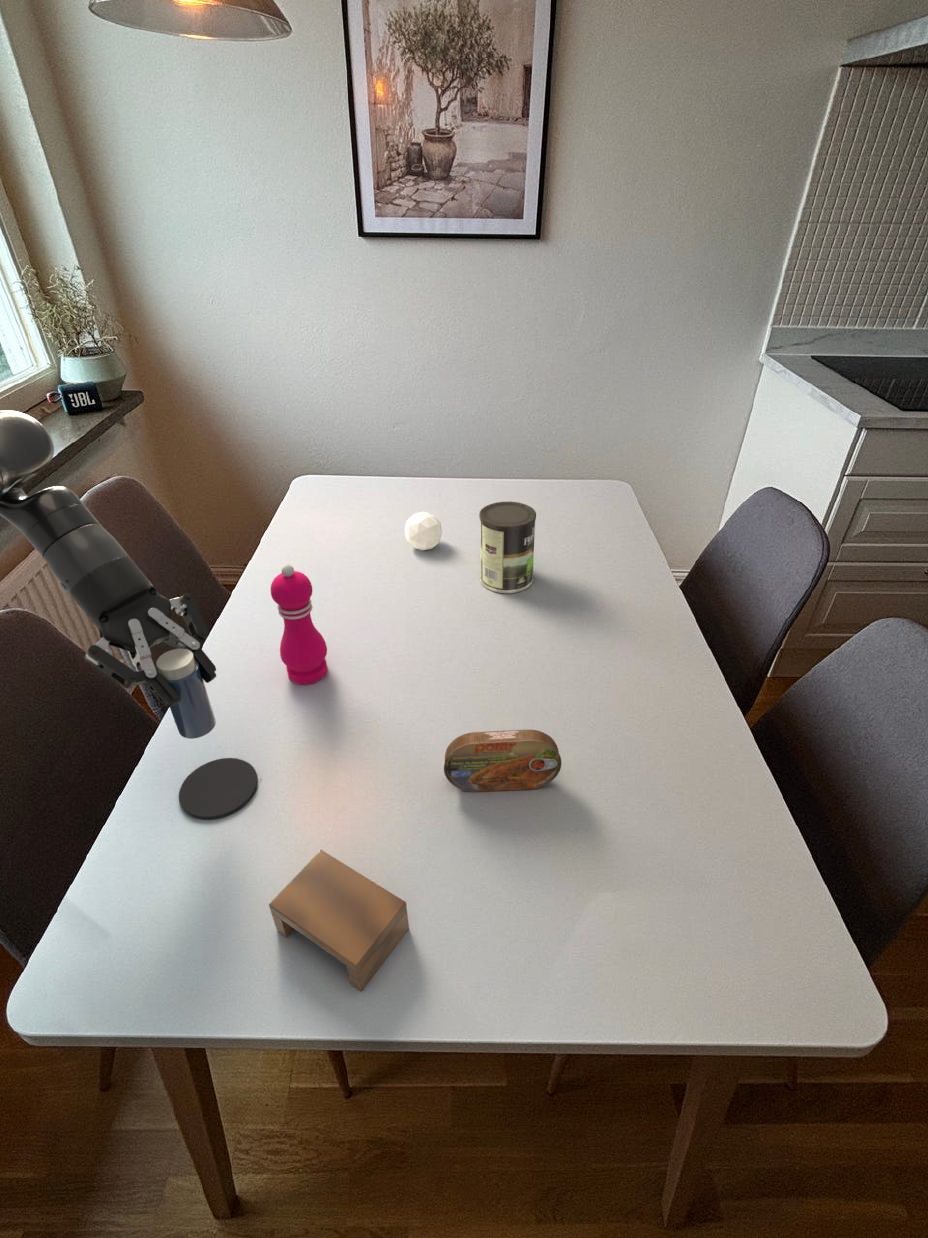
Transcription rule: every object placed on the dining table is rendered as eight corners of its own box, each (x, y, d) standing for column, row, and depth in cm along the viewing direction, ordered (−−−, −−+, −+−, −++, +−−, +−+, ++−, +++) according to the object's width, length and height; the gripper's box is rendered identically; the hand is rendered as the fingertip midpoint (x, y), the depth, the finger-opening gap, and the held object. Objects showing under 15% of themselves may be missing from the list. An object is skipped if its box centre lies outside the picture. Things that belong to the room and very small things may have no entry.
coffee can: (537, 568, 134) (540, 503, 126) (527, 597, 126) (530, 529, 118) (486, 562, 137) (486, 498, 129) (473, 590, 129) (473, 523, 120)
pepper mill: (316, 652, 114) (296, 547, 102) (339, 673, 109) (321, 566, 98) (277, 671, 110) (252, 564, 98) (299, 693, 106) (275, 584, 94)
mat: (214, 832, 85) (213, 829, 84) (163, 798, 89) (162, 795, 89) (273, 780, 91) (273, 777, 91) (223, 750, 96) (222, 747, 96)
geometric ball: (415, 557, 145) (398, 523, 144) (449, 540, 144) (432, 505, 144) (414, 557, 137) (395, 521, 136) (449, 539, 137) (431, 503, 136)
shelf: (361, 992, 68) (356, 966, 66) (276, 930, 74) (268, 904, 71) (409, 928, 74) (406, 902, 71) (327, 875, 79) (321, 849, 76)
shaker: (194, 743, 81) (171, 676, 75) (170, 729, 83) (146, 663, 77) (223, 721, 84) (203, 655, 78) (200, 708, 86) (178, 642, 80)
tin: (445, 793, 89) (442, 748, 84) (444, 775, 92) (442, 729, 87) (559, 789, 89) (564, 743, 84) (556, 770, 92) (560, 725, 87)
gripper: (42, 590, 70) (150, 720, 71) (160, 533, 79) (253, 648, 81) (33, 616, 75) (133, 736, 77) (145, 560, 85) (232, 668, 86)
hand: (194, 690), depth 79 cm, fingers closed on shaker, 4 cm apart
